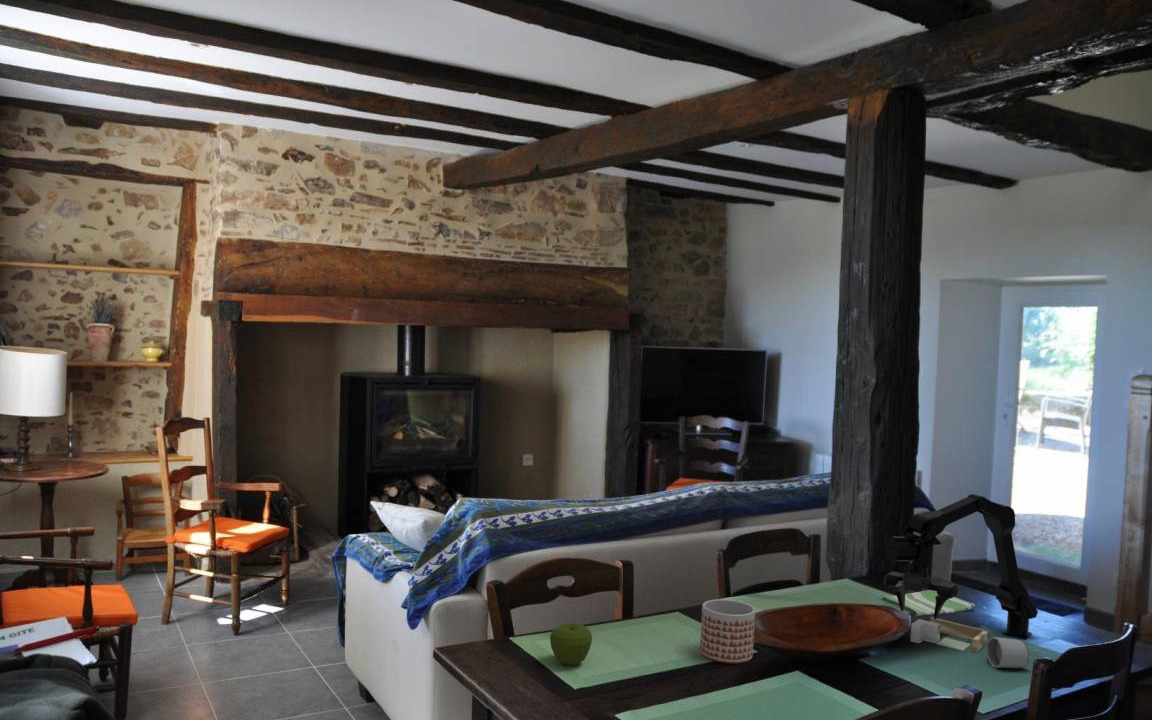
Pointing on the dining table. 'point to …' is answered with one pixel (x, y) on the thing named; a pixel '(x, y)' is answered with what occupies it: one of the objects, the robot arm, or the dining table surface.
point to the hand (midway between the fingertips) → (918, 614)
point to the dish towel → (929, 603)
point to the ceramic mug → (1007, 653)
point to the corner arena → (964, 632)
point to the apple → (571, 643)
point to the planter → (727, 631)
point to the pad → (954, 644)
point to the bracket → (925, 631)
